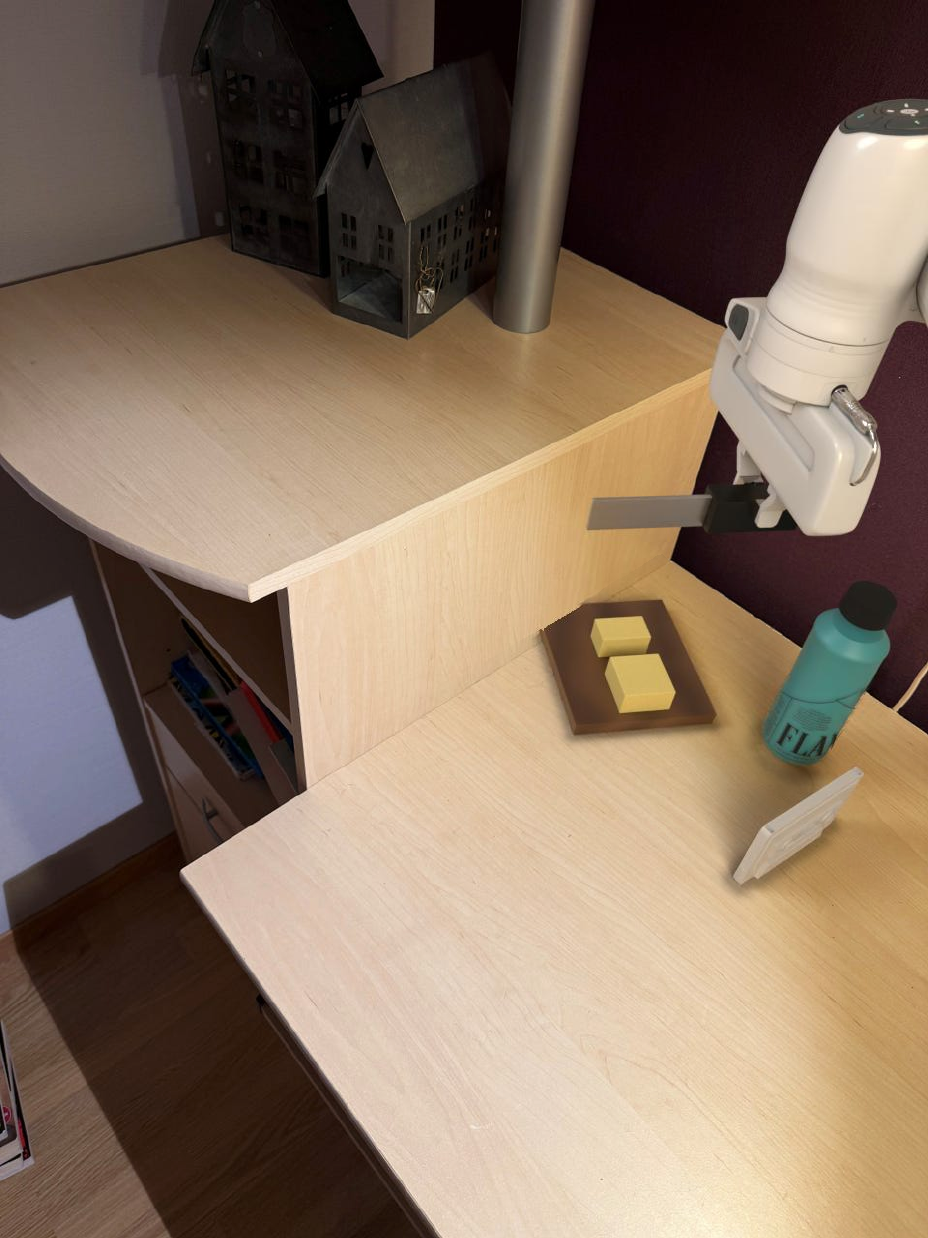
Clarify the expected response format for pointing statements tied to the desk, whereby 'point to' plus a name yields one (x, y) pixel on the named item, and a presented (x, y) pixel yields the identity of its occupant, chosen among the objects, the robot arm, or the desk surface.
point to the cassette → (796, 827)
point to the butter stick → (639, 683)
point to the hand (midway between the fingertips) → (752, 507)
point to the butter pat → (620, 636)
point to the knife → (687, 511)
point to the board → (586, 671)
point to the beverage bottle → (830, 675)
